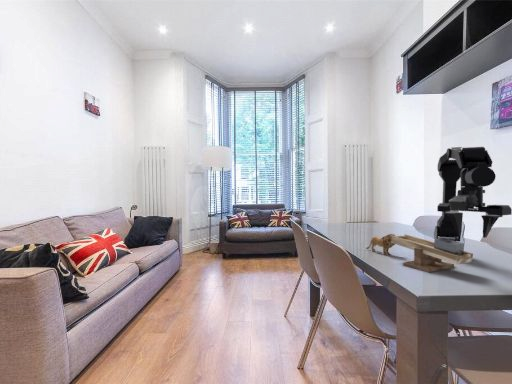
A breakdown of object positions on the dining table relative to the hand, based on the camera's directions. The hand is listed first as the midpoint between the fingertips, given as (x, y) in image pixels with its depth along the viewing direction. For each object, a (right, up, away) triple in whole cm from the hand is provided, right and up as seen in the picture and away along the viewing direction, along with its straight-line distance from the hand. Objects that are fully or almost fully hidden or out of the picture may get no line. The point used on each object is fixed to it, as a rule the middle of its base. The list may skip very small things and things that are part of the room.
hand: (471, 235), depth 93 cm
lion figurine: (-13, -13, +35) cm, 40 cm away
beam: (-6, -7, +13) cm, 16 cm away
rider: (-3, -7, +7) cm, 10 cm away
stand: (-6, -13, +13) cm, 20 cm away
